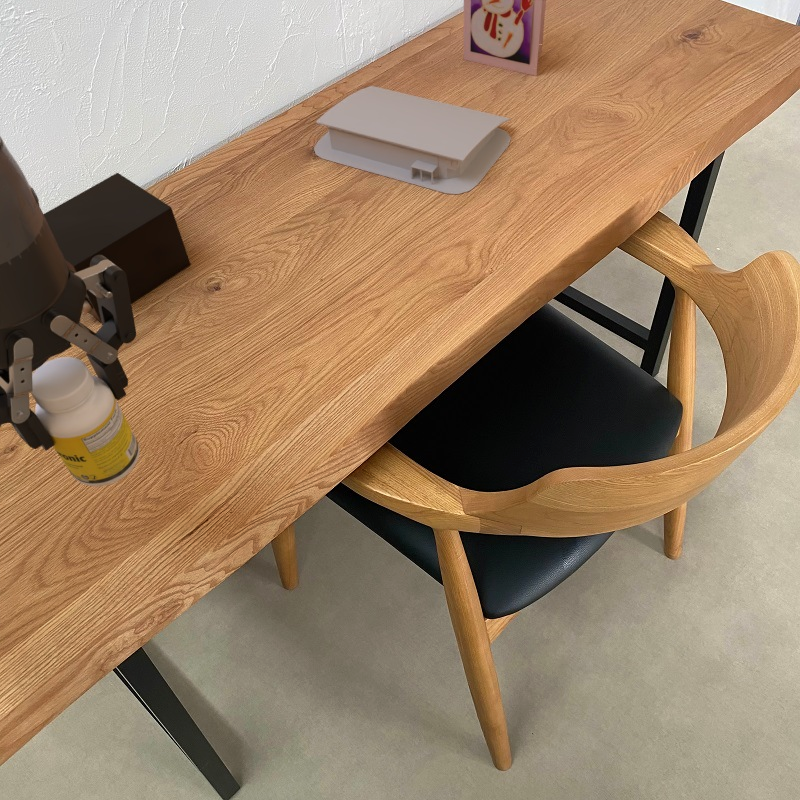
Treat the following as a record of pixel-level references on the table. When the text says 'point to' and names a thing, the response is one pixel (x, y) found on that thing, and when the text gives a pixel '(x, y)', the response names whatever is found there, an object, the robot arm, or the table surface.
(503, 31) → the greeting card
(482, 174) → the miniature building model
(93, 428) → the supplement bottle
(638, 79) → the table surface
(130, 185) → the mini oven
